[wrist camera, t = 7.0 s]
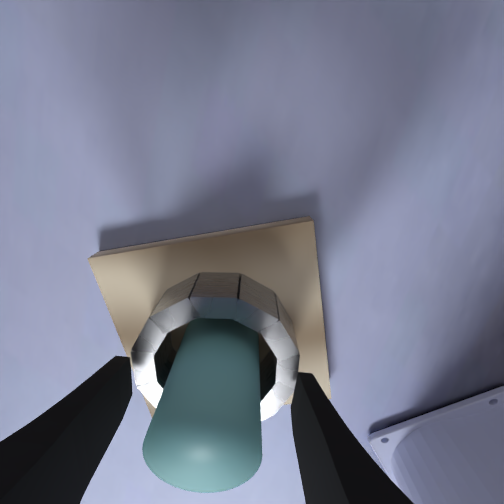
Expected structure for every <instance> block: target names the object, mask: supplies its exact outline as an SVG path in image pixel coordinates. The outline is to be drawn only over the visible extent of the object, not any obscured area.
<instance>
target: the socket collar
mask: <svg viewBox="0 0 504 504" xmlns="http://www.w3.org/2000/svg"><path fill="white" fill-rule="evenodd" d="M196 318H213V319H233V320H235V321H237V322H239V323H241V324H243V325H245V326H247V327H249V328H251V329H253V330H254V331H256V332H258V333H260V334H262V336H263V337H264V339H265V340H266V342H267V343H268V345H269V347H270V348H271V350H270V351H269V352H268V354H267V355H266V356H265V358H264V359H263V360H262V362H261V363H260V364H259V367H260V401H261V421H262V420H265V419H267V418H270V417H272V415H275V414H276V412H277V411H278V410H279V409H280V408H281V407H282V405H283V404H284V403H285V402H286V401H287V400H288V398H289V397H290V396H291V395H292V394H293V393H294V389H295V384H296V380H297V375H298V370H299V360H300V353H299V349H298V345H297V340H296V336H295V332H294V327H293V323H292V320H291V318H290V316H289V315H288V313H287V311H286V310H285V308H284V306H283V305H282V303H281V301H280V299H279V298H278V296H277V294H276V293H274V291H273V290H271V289H269V288H268V287H266V286H264V285H262V284H260V283H258V282H257V281H255V280H253V279H251V278H249V277H247V276H246V275H244V274H241V275H240V273H226V272H201V274H200V273H197V274H195V275H193V276H192V277H190V278H188V279H186V280H184V281H182V282H180V283H178V284H176V285H174V286H172V287H170V288H169V289H167V291H165V293H164V294H163V296H162V298H161V299H160V301H159V302H158V304H157V305H156V307H155V309H154V310H153V312H152V313H151V315H150V316H149V318H148V320H147V321H146V323H145V325H144V327H143V329H142V331H141V332H140V334H139V336H138V338H137V340H136V341H135V343H134V345H133V347H132V349H131V359H132V365H133V371H134V377H135V383H136V385H137V388H138V389H139V390H140V391H141V392H142V393H143V394H144V396H145V397H146V398H147V399H148V400H149V401H150V402H151V403H152V405H153V406H154V407H155V408H156V407H157V405H158V402H159V399H160V397H161V394H162V391H163V389H164V386H165V383H166V381H167V378H168V376H169V373H170V370H171V368H172V365H173V362H174V360H175V357H176V354H177V352H176V351H175V349H174V348H173V347H172V341H171V331H172V330H174V329H176V328H178V327H180V326H182V325H184V324H186V323H188V322H190V321H192V320H194V319H196Z"/></svg>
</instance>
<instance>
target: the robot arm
mask: <svg viewBox="0 0 504 504" xmlns="http://www.w3.org/2000/svg"><path fill="white" fill-rule="evenodd" d="M131 396H132V379H131V361H130V357H123V356H115V357H114V358H113V359H111V360H110V361H109V362H108V363H106V364H105V365H104V366H103V367H102V368H100V369H99V370H98V371H97V372H96V373H94V374H93V375H92V376H91V377H89V378H88V379H87V380H86V381H85V382H83V383H82V384H81V385H80V386H78V387H77V388H76V389H75V390H73V391H72V392H71V393H70V394H68V395H67V396H66V397H64V398H63V399H62V400H60V401H59V402H58V403H56V404H55V405H54V406H52V407H51V408H50V409H48V410H47V411H46V412H44V413H43V414H41V415H40V416H39V417H37V418H36V419H34V420H33V421H32V422H30V423H29V424H27V425H26V426H24V427H23V428H21V429H20V430H18V431H16V432H15V433H13V434H12V435H10V436H9V437H7V438H6V439H4V440H2V441H1V442H0V504H80V502H81V499H82V497H83V495H84V493H85V491H86V489H87V487H88V484H89V482H90V480H91V478H92V477H93V475H94V473H95V471H96V469H97V467H98V465H99V463H100V461H101V459H102V458H103V456H104V454H105V452H106V450H107V448H108V446H109V444H110V442H111V441H112V439H113V437H114V435H115V433H116V431H117V429H118V427H119V425H120V423H121V421H122V419H123V417H124V414H125V412H126V409H127V407H128V404H129V401H130V399H131ZM291 417H292V429H293V437H294V442H295V448H296V453H297V458H298V464H299V469H300V474H301V479H302V485H303V490H304V495H305V501H306V504H504V386H501V387H499V388H496V389H493V390H490V391H487V392H485V393H482V394H479V395H476V396H474V397H471V398H468V399H465V400H462V401H460V402H457V403H454V404H451V405H449V406H446V407H443V408H440V409H438V410H435V411H432V412H429V413H426V414H424V415H421V416H418V417H415V418H413V419H410V420H407V421H404V422H402V423H399V424H396V425H393V426H390V427H388V428H385V429H382V430H379V431H377V432H374V433H372V434H370V435H369V437H368V440H369V443H370V445H371V447H372V449H373V450H374V452H375V454H376V456H377V457H378V459H379V461H380V463H381V464H382V466H383V468H384V469H385V471H386V473H387V475H388V476H389V477H388V476H387V475H386V474H385V473H384V472H383V470H382V469H381V468H380V467H379V466H378V465H377V464H376V462H375V461H374V460H373V459H372V458H371V457H370V455H369V454H368V453H367V452H366V450H365V449H364V448H363V447H362V445H361V444H360V443H359V442H358V440H357V439H356V438H355V436H354V435H353V434H352V432H351V431H350V430H349V428H348V427H347V426H346V424H345V423H344V421H343V420H342V418H341V417H340V416H339V414H338V413H337V411H336V410H335V408H334V407H333V405H332V404H331V402H330V401H329V399H328V398H327V396H326V394H325V393H324V391H323V390H322V388H321V386H320V385H319V383H318V381H317V380H316V378H315V376H314V375H313V374H312V373H305V372H298V375H297V380H296V384H295V389H294V394H293V399H292V404H291Z"/></svg>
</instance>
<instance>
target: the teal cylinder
mask: <svg viewBox="0 0 504 504" xmlns="http://www.w3.org/2000/svg"><path fill="white" fill-rule="evenodd" d="M142 450H143V456H144V460H145V462H146V464H147V466H148V467H149V469H150V470H151V471H152V472H153V473H154V474H155V475H156V476H157V477H158V478H160V479H161V480H163V481H164V482H166V483H168V484H170V485H172V486H174V487H177V488H180V489H183V490H187V491H192V492H200V493H213V492H221V491H226V490H229V489H233V488H235V487H237V486H240V485H242V484H243V483H245V482H246V481H248V480H249V479H250V478H251V477H252V476H253V475H254V474H255V473H256V472H257V470H258V468H259V467H260V464H261V460H262V435H261V401H260V367H259V336H258V332H256V331H254V330H253V329H251V328H249V327H247V326H245V325H243V324H241V323H239V322H237V321H235V320H233V319H213V318H196V319H194V320H192V321H190V322H189V324H188V326H187V328H186V331H185V333H184V336H183V339H182V341H181V344H180V347H179V349H178V352H177V354H176V357H175V360H174V362H173V365H172V368H171V370H170V373H169V376H168V378H167V381H166V383H165V386H164V389H163V391H162V394H161V397H160V399H159V402H158V405H157V407H156V410H155V412H154V415H153V418H152V420H151V423H150V426H149V428H148V431H147V434H146V436H145V439H144V442H143V449H142Z"/></svg>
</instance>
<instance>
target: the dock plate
mask: <svg viewBox="0 0 504 504" xmlns="http://www.w3.org/2000/svg"><path fill="white" fill-rule="evenodd" d="M88 261H89V263H90V266H91V268H92V271H93V273H94V276H95V278H96V281H97V283H98V286H99V288H100V291H101V293H102V295H103V298H104V300H105V303H106V305H107V308H108V310H109V313H110V315H111V318H112V320H113V323H114V325H115V327H116V330H117V332H118V335H119V337H120V340H121V342H122V345H123V347H124V350H125V352H126V355H127V357H130V361H131V367H132V369H133V365H132V359H131V349H132V347H133V345H134V343H135V341H136V340H137V338H138V336H139V334H140V332H141V331H142V329H143V327H144V325H145V323H146V321H147V320H148V318H149V316H150V315H151V313H152V312H153V310H154V309H155V307H156V305H157V304H158V302H159V301H160V299H161V298H162V296H163V294H164V293H165V291H167V289H169V288H170V287H172V286H174V285H176V284H178V283H180V282H182V281H184V280H186V279H188V278H190V277H192V276H193V275H195V274H197V273H200V274H201V272H226V273H240V275H241V274H244V275H246V276H247V277H249V278H251V279H253V280H255V281H257V282H258V283H260V284H262V285H264V286H266V287H268V288H269V289H271V290H273V291H274V293H276V294H277V296H278V298H279V299H280V301H281V303H282V305H283V306H284V308H285V310H286V311H287V313H288V315H289V316H290V318H291V320H292V323H293V327H294V332H295V336H296V340H297V345H298V349H299V353H300V360H299V370H298V372H305V373H312V374H313V375H314V376H315V378H316V380H317V381H318V383H319V385H320V386H321V388H322V390H323V391H324V393H325V394H326V396H327V398H328V399H331V391H330V381H329V371H328V361H327V351H326V341H325V331H324V321H323V311H322V301H321V291H320V281H319V271H318V260H317V250H316V240H315V230H314V221H313V220H312V218H311V217H310V216H307V217H301V218H295V219H289V220H283V221H277V222H271V223H265V224H259V225H253V226H248V227H242V228H236V229H230V230H224V231H218V232H212V233H206V234H200V235H194V236H188V237H182V238H176V239H170V240H165V241H159V242H153V243H147V244H141V245H135V246H129V247H123V248H117V249H111V250H105V251H99V252H97V253H96V254H94V255H92V256H91V257H89V258H88ZM188 324H189V322H188V323H186V324H184V325H182V326H180V327H178V328H176V329H174V330H172V331H171V341H172V347H173V348H174V349H175V351H176V352H178V349H179V347H180V344H181V341H182V339H183V336H184V333H185V331H186V328H187V326H188ZM258 336H259V364H260V363H261V362H262V360H263V359H264V358H265V356H266V355H267V354H268V352H269V351H270V350H271V348H270V347H269V345H268V343H267V342H266V340H265V339H264V337H263V336H262V334H260V333H258ZM133 372H134V371H133ZM142 394H143V393H142ZM293 394H294V393H293ZM293 394H292V395H291V396H290V397H289V398H288V400H287V401H286V402H285V403H284V404H283V405H287V404H292V399H293ZM143 396H144V394H143ZM144 399H145V401H146V404H147V406H148V409H149V411H150V414H151V416H152V418H153V415H154V412H155V410H156V408H155V407H154V406H153V405H152V403H151V402H150V401H149V400H148V399H147V398H146V397H145V396H144Z"/></svg>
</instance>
